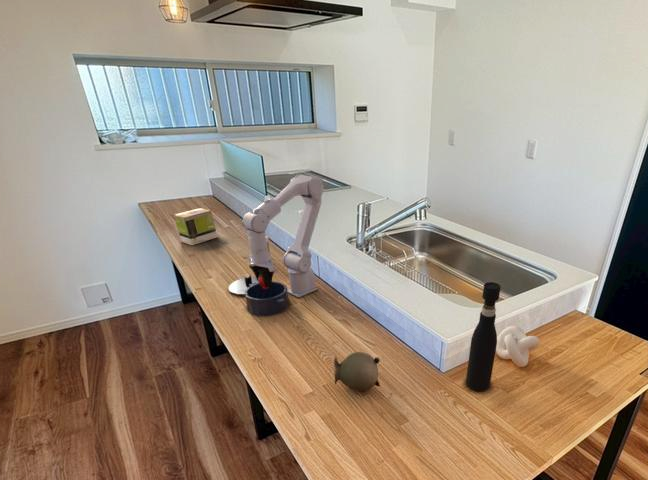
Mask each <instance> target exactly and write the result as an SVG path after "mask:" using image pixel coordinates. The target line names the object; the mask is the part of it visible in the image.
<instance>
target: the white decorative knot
mask: <svg viewBox="0 0 648 480" xmlns="http://www.w3.org/2000/svg"><path fill="white" fill-rule="evenodd" d="M540 343H541V342H540V339H539V337H538V336H536V335H528V336H527V335H526V333H525V331H524V329H522V328H521V327H520V326H517V325H511V326H507V327H505V328H504V329H503V330H501V331H500V333H499V335H497V346H496V355H498V357H499V358H501V359H502V360H511V361H512V362H513V364H514V365H515V366H517V367H519V368H525V367H526V366H527V365H528V363H529V358H530V353H531V352H533V351H534V350H537V348H538V347H539V346H540Z"/></svg>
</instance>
